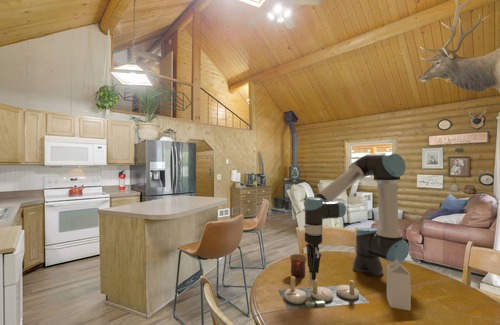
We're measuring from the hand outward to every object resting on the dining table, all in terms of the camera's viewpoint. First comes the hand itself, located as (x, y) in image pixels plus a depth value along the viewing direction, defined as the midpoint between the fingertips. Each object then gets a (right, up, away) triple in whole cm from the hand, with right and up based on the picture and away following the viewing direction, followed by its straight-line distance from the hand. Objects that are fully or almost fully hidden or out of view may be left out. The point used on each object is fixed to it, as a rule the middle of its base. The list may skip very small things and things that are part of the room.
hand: (312, 286), depth 106 cm
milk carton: (+33, -5, -8) cm, 34 cm away
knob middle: (+3, -3, -2) cm, 5 cm away
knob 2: (+15, -4, 0) cm, 16 cm away
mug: (-3, -5, +17) cm, 18 cm away
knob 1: (-8, -3, -4) cm, 10 cm away
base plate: (+3, -5, -2) cm, 6 cm away
